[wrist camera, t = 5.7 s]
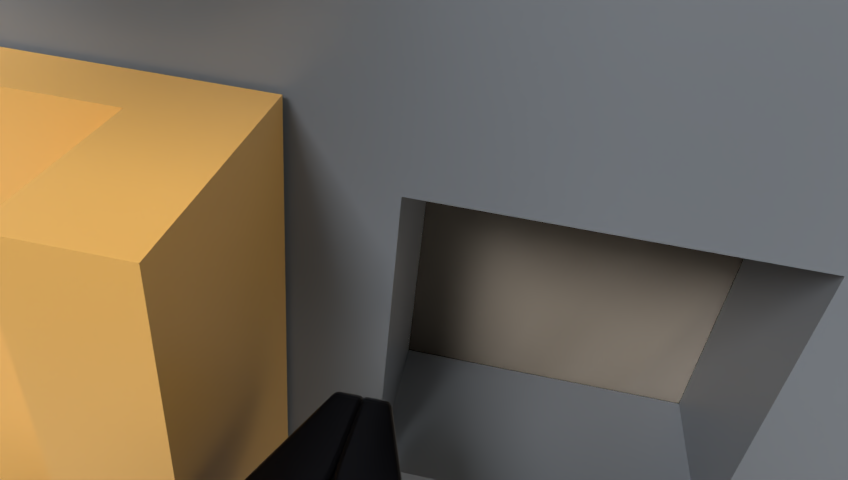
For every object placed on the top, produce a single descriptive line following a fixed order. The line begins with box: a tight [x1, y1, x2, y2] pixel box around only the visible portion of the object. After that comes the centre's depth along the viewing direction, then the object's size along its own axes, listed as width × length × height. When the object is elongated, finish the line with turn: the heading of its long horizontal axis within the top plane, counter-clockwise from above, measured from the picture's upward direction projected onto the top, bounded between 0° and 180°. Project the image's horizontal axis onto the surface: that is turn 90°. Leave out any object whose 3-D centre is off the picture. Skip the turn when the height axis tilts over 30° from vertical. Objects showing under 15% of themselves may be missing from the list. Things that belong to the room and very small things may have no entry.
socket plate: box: [0, 0, 848, 480], centre depth 12 cm, size 20×14×3 cm
